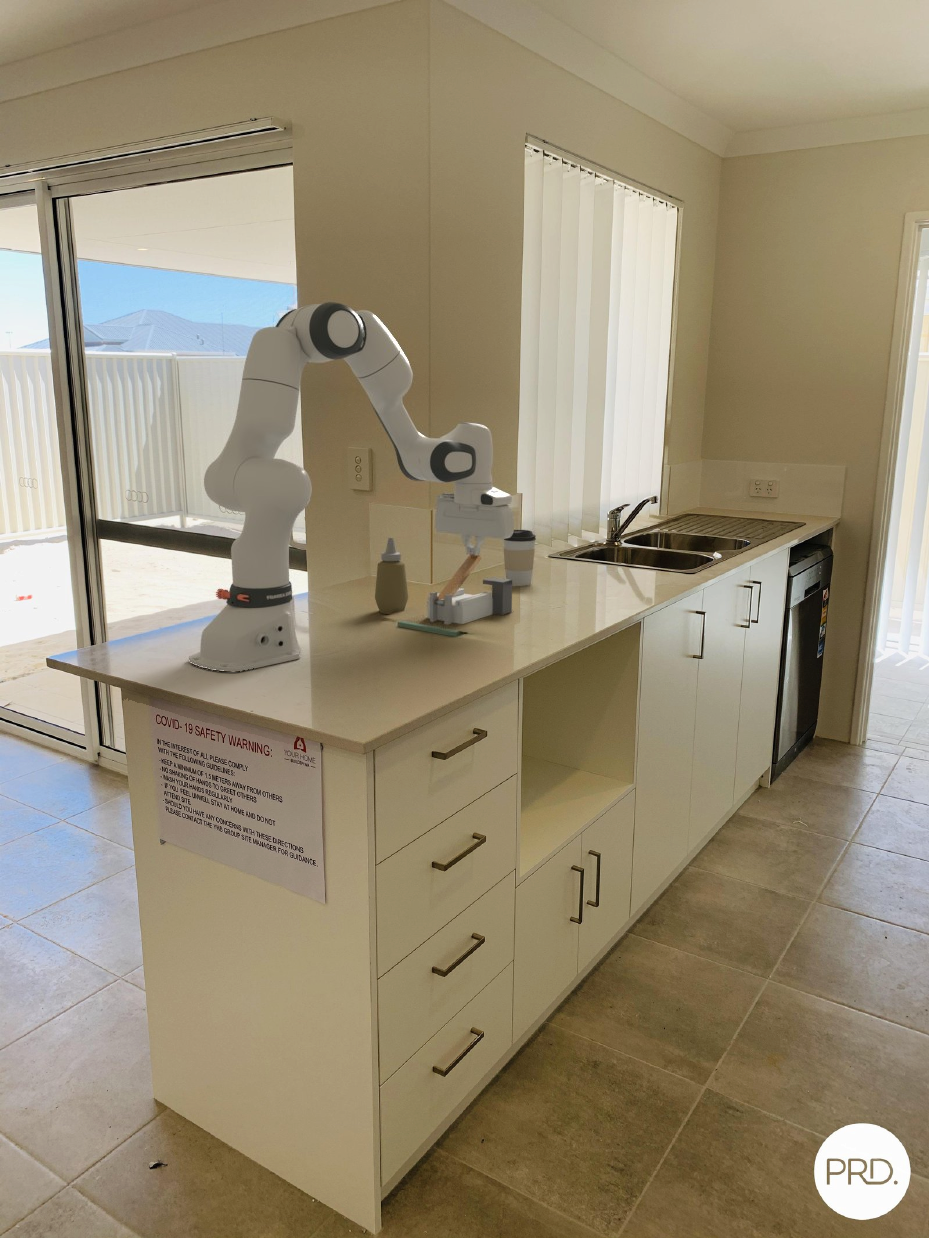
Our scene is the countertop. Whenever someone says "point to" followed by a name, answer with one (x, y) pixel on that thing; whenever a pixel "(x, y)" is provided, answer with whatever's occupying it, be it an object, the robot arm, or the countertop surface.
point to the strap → (458, 578)
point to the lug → (500, 595)
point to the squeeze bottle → (391, 581)
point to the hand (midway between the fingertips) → (472, 554)
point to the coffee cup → (519, 557)
